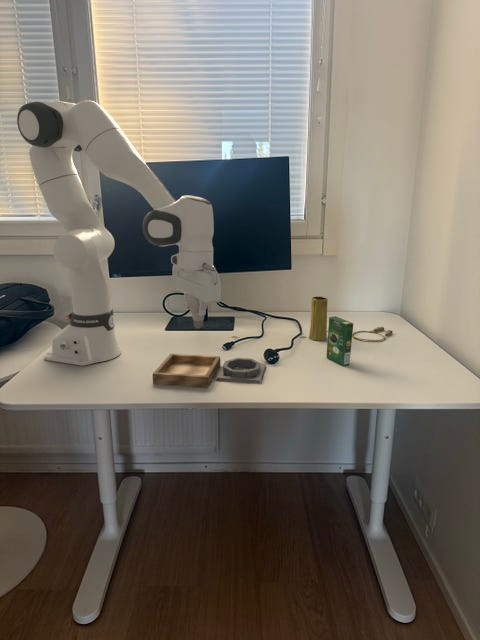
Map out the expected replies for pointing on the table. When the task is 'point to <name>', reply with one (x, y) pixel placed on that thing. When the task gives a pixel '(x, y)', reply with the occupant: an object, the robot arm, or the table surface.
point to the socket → (241, 371)
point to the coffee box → (339, 340)
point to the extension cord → (376, 333)
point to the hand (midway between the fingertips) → (195, 312)
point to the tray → (187, 370)
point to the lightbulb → (195, 310)
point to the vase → (318, 319)
